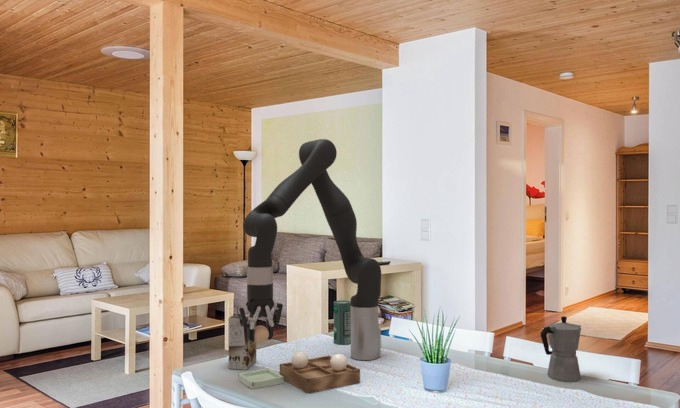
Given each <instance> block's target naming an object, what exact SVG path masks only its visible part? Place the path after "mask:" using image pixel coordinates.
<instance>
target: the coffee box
mask: <svg viewBox="0 0 680 408" xmlns="http://www.w3.org/2000/svg"><path fill="white" fill-rule="evenodd" d="M249 314H250V312H246V314H245V316H246V320H247V322H248V317H249ZM255 327H257V321H256V322H255V325H254V328H255ZM254 328H253V329H254ZM256 363H257V342H255V341H254V342H250V341H249V340H248V338H247V328H244V327H242V326H241V324H240V320H239V316H238V312H237V313H236V314H233V315H232V316H229V317H228V369H230V370H231V369H232V370H242V371H246V370H248V369H250V368H251V367H252V366H253V365H255V364H256Z"/></svg>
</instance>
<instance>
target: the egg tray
mask: <svg viewBox="0 0 680 408" xmlns="http://www.w3.org/2000/svg"><path fill="white" fill-rule="evenodd" d="M331 358H332V356H331V355H325V356H319V357H314V358H308V364H307V365H306V367H304V368H302V369H297V368H295V367H294V366H293V364H292V361H290V362H284V363H280V364H279V374H280V375H282V376H283V377H284V382H285V381H286V382H287V383H289V384H291V385H293V386H294V387H296V388H297V389H299V390H301V391H303V392H304V393H306V394H311V393H316V392H321V391H326V390H330V389H335V388H341V387H345V386H350V385H354V384H355V383H356V384H360V383H361V369H360V368H358V367H356V366H353V365H351V364H349V363H347V366H346V368H345V369H344V370H342V371H335V370H333V369H332V367H331V365H330V360H331ZM356 384H355V385H356Z"/></svg>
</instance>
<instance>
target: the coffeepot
mask: <svg viewBox="0 0 680 408" xmlns="http://www.w3.org/2000/svg"><path fill="white" fill-rule="evenodd" d="M560 318H561V322H555V323H550V324H548V325H546V326H544V327H543V328H542V331H541V332H540V337H541V341H542V345H543V349H544V352H545V354H546V355H548V356H550V357H549V364H548V369H547V373H546V374H547V377H548V378H550V379H552V380H554V381H560V382H566V383H567V382H569V383H570V382H571V383H572V382H578V381H580V379H581V378H582V376H581V371H580V365H579V359H578V356H577V351H578V349H579V344H580V338H581V337H580V336H581V332H582V325H579V324H575V323H570V322H567V319H568V317H567V316H564V315H563V316H561V317H560ZM547 335H548V336H547ZM548 340H549V343H548ZM550 349H551V350H550Z"/></svg>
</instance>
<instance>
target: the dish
mask: <svg viewBox="0 0 680 408" xmlns="http://www.w3.org/2000/svg"><path fill="white" fill-rule="evenodd" d="M237 380H238V381H239V382H240V383H242V385H243V384H244V385H245V386H247V387H248V388H249V389H251V390H254V389H261V388H265V387H271V386H276V385H280V384H284V383H285V380H284V377H283V376H282V375H280V373H278V372H276V371H275V370H273V369H272V368H264V369H259V370H258V369H257V370H252V371H246V372H240V373H237Z"/></svg>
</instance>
